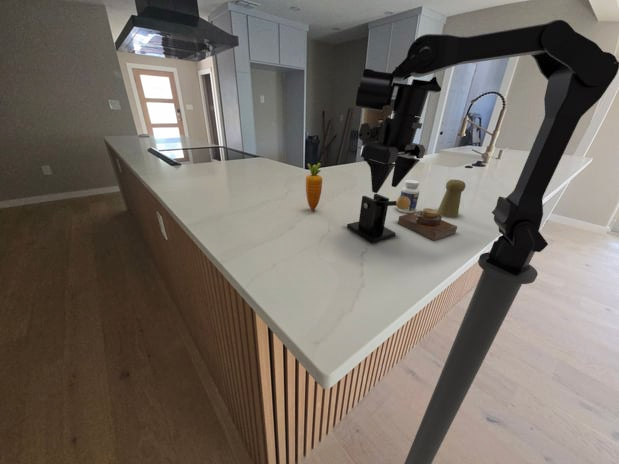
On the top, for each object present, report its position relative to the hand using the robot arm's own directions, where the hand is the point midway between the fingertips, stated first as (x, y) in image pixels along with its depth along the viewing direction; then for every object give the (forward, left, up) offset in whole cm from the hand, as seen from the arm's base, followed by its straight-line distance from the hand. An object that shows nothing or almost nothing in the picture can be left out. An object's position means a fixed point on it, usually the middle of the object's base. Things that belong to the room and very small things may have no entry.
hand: (384, 189), depth 58 cm
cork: (+3, -34, -13) cm, 36 cm away
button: (-1, -18, -10) cm, 20 cm away
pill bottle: (+11, -24, -13) cm, 29 cm away
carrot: (+24, +4, -13) cm, 28 cm away
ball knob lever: (-1, -2, -5) cm, 5 cm away
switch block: (-1, -18, -13) cm, 22 cm away
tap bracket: (+4, -2, -13) cm, 14 cm away
